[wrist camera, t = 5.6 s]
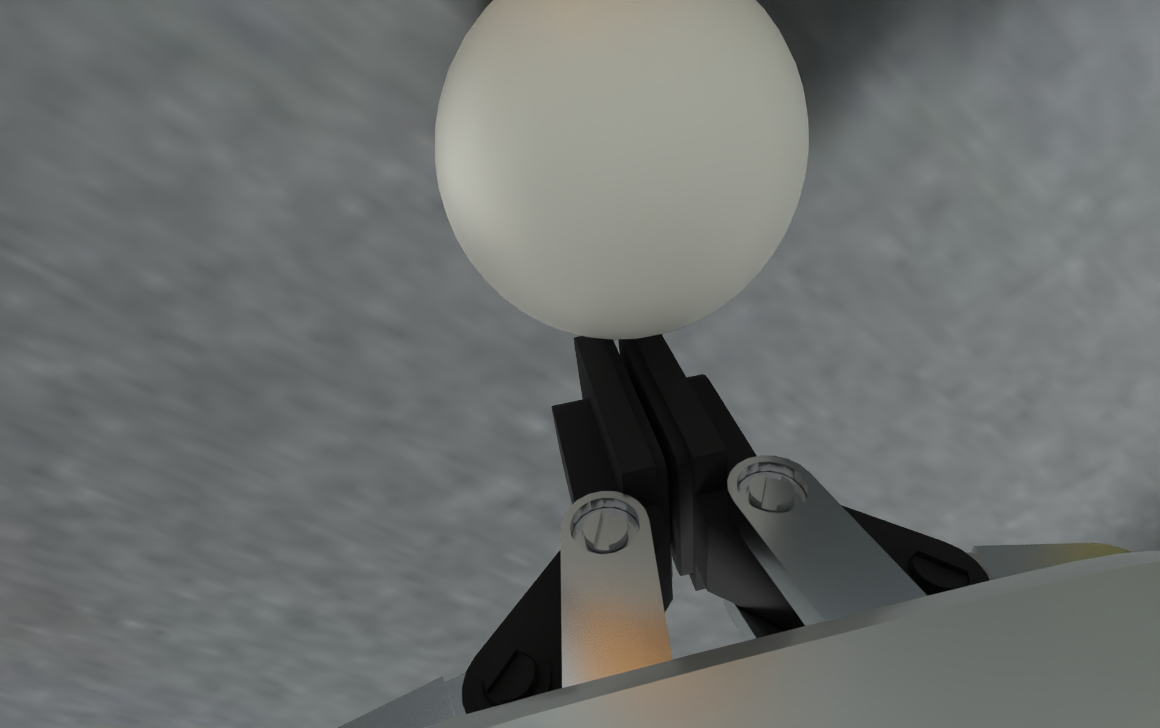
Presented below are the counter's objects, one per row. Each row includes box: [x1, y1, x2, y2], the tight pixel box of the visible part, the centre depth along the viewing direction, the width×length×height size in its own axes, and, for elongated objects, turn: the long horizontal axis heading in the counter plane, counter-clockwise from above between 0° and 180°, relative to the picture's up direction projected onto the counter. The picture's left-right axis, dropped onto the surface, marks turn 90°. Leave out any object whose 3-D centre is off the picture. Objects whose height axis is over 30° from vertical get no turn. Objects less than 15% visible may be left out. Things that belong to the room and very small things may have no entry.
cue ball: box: [435, 0, 809, 339], centre depth 9 cm, size 6×6×6 cm
